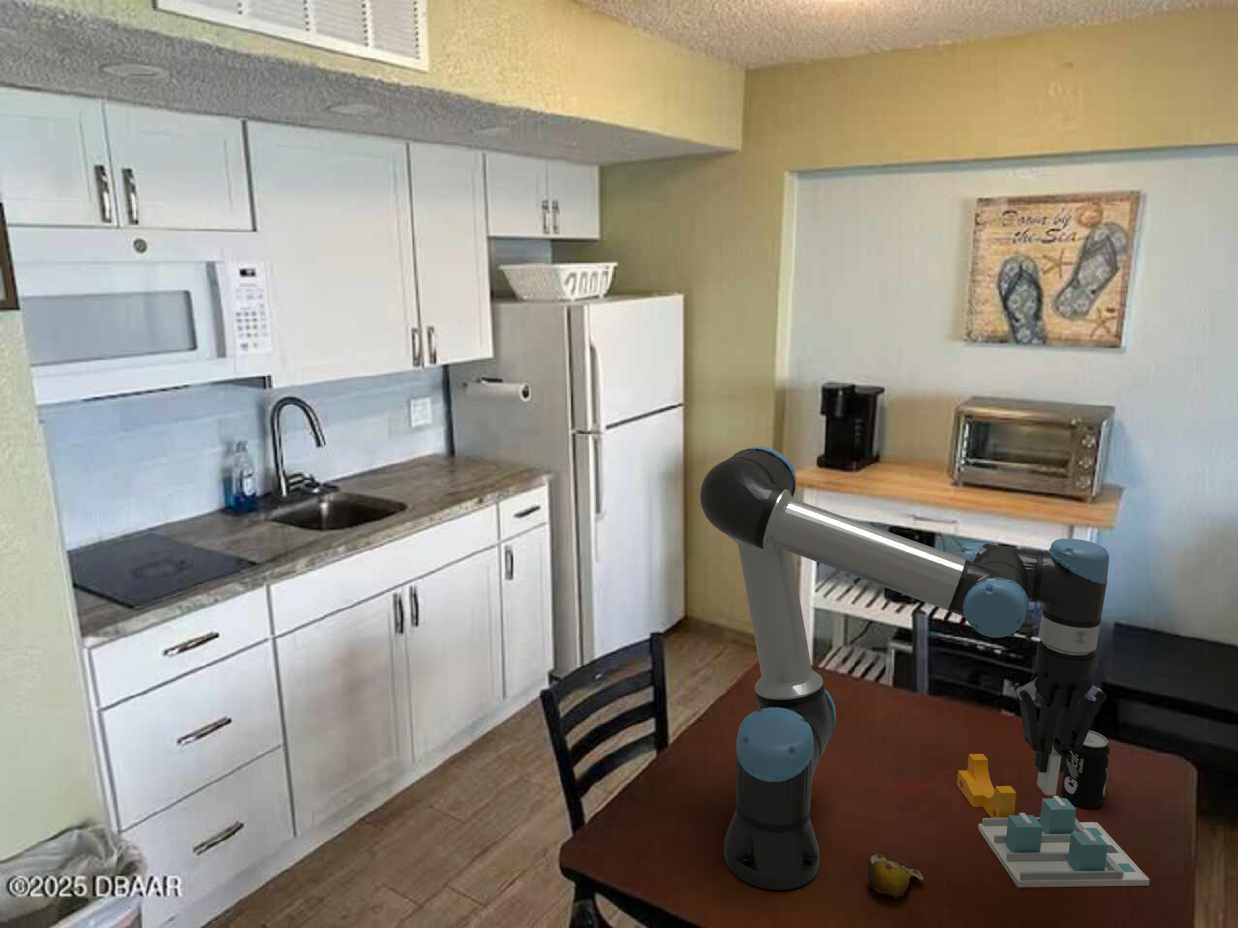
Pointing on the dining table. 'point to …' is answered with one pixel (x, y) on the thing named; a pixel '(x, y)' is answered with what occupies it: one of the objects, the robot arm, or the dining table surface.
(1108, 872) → the switch board
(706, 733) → the dining table surface
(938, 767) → the dining table surface
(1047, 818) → the tab far
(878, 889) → the fruit
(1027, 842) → the tab mid
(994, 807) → the pipe clamp
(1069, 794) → the beverage can
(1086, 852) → the tab near
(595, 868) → the dining table surface
